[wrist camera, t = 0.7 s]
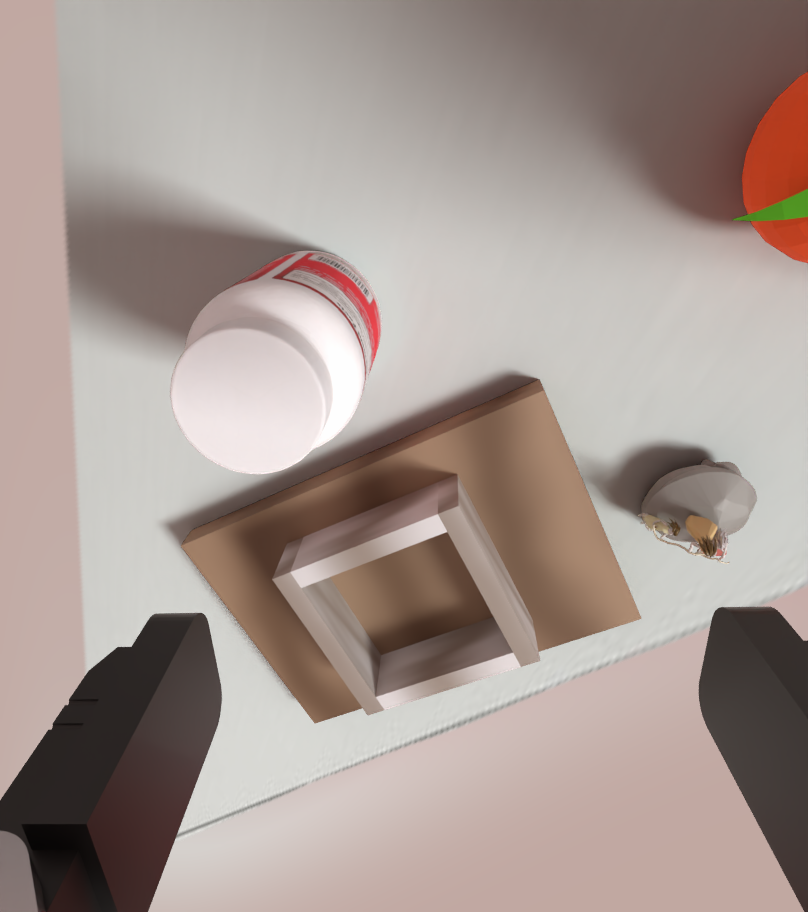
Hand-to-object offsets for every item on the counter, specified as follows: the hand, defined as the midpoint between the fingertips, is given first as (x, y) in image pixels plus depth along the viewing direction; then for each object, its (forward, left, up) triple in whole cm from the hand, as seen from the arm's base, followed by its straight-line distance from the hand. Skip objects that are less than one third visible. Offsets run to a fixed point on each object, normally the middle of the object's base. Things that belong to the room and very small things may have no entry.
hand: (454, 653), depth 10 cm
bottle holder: (+7, +11, -20) cm, 24 cm away
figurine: (-7, +12, -21) cm, 25 cm away
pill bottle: (+5, -3, -20) cm, 21 cm away
